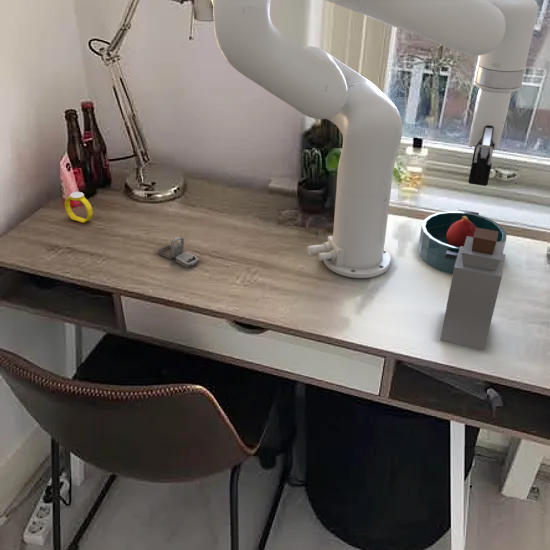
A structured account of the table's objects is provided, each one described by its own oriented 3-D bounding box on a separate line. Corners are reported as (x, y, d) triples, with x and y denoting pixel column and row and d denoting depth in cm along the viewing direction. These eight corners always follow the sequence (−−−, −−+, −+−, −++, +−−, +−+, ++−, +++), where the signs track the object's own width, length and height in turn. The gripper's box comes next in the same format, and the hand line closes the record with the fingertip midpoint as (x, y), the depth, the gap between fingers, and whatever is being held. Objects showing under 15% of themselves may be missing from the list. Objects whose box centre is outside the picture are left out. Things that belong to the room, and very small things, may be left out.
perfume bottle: (440, 340, 102) (459, 240, 92) (446, 316, 107) (465, 220, 98) (484, 350, 100) (508, 249, 90) (488, 325, 105) (511, 228, 96)
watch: (64, 220, 134) (59, 194, 131) (72, 215, 136) (68, 189, 133) (88, 226, 132) (83, 200, 129) (96, 220, 134) (92, 194, 131)
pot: (443, 281, 116) (447, 255, 114) (404, 241, 129) (408, 216, 126) (517, 269, 120) (523, 244, 117) (472, 231, 133) (477, 207, 130)
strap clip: (200, 262, 121) (199, 242, 118) (188, 268, 119) (187, 248, 116) (169, 247, 125) (167, 227, 123) (157, 253, 123) (155, 233, 121)
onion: (472, 247, 127) (479, 210, 122) (476, 262, 122) (485, 224, 118) (441, 245, 127) (448, 208, 123) (445, 260, 122) (452, 222, 118)
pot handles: (467, 262, 114) (468, 257, 114) (444, 257, 115) (445, 253, 115) (478, 216, 129) (479, 212, 129) (457, 213, 130) (458, 209, 130)
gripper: (478, 62, 115) (461, 153, 124) (471, 89, 101) (453, 189, 110) (522, 66, 113) (502, 159, 122) (522, 94, 99) (499, 196, 108)
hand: (479, 173), depth 116 cm, fingers open, 9 cm apart
